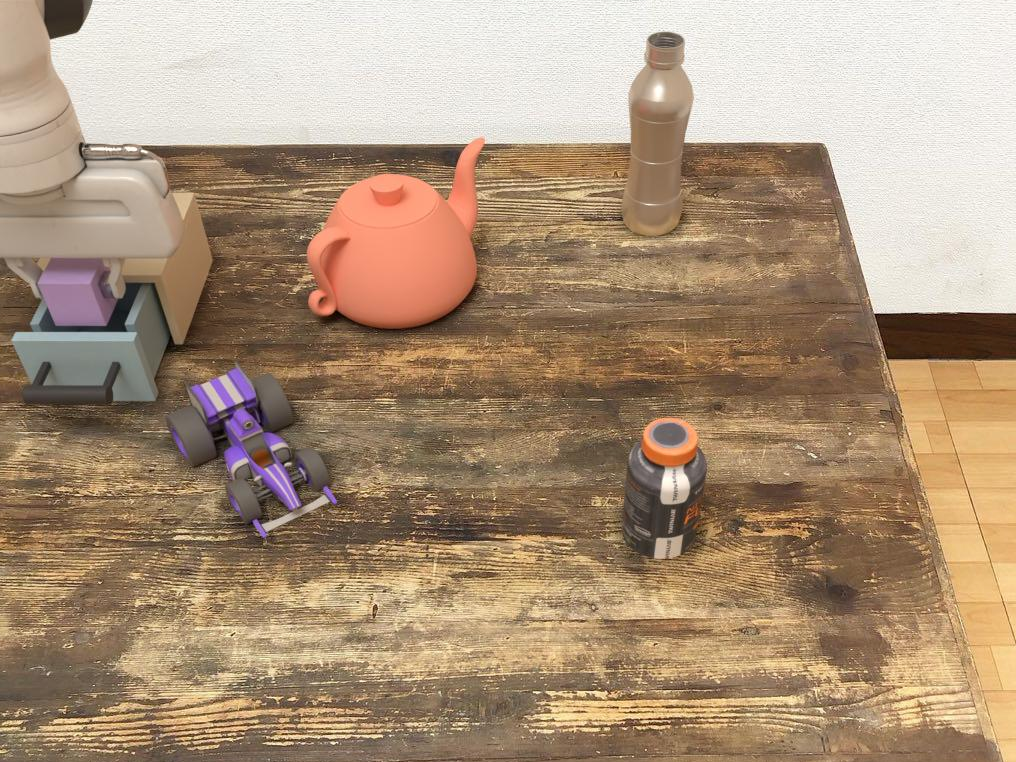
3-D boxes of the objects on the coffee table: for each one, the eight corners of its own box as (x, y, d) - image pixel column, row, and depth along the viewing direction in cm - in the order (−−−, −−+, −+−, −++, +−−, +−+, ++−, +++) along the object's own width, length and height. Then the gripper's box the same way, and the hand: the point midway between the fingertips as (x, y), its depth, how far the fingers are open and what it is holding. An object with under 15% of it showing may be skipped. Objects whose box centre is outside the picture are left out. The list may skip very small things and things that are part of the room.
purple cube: (55, 326, 92) (37, 283, 89) (70, 295, 95) (53, 252, 92) (106, 326, 92) (90, 283, 89) (120, 295, 95) (104, 252, 92)
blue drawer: (142, 438, 92) (118, 377, 87) (21, 438, 92) (-9, 377, 87) (187, 315, 103) (168, 254, 98) (80, 314, 104) (55, 254, 98)
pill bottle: (692, 570, 83) (709, 467, 75) (617, 561, 84) (625, 458, 75) (697, 514, 87) (714, 411, 79) (625, 506, 88) (633, 402, 79)
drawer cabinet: (185, 352, 101) (160, 275, 95) (63, 351, 101) (30, 275, 95) (215, 267, 110) (194, 192, 104) (102, 267, 110) (75, 192, 104)
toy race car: (248, 554, 85) (230, 497, 80) (174, 447, 93) (153, 389, 88) (355, 502, 88) (343, 445, 83) (274, 403, 96) (259, 346, 91)
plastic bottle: (687, 217, 116) (708, 29, 101) (671, 251, 112) (691, 60, 97) (629, 206, 117) (642, 20, 102) (612, 240, 113) (622, 50, 98)
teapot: (443, 217, 116) (434, 106, 107) (540, 279, 109) (540, 166, 99) (271, 300, 106) (245, 187, 97) (365, 375, 99) (347, 260, 89)
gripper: (168, 123, 84) (210, 273, 94) (-92, 123, 84) (-22, 272, 94) (148, 166, 80) (194, 317, 90) (-126, 165, 80) (-48, 316, 90)
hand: (81, 294), depth 92 cm, fingers closed on purple cube, 4 cm apart
